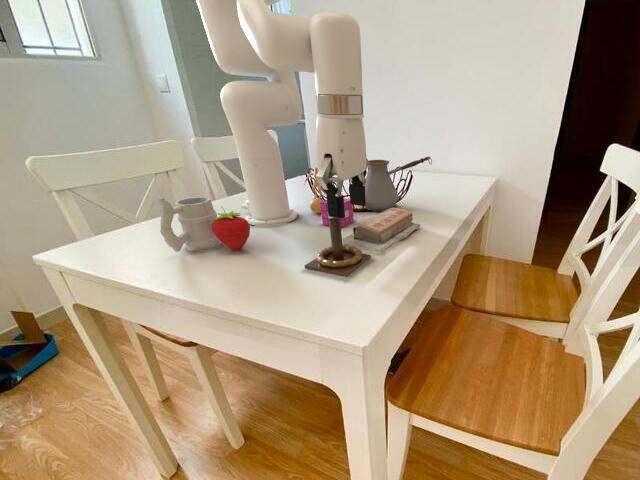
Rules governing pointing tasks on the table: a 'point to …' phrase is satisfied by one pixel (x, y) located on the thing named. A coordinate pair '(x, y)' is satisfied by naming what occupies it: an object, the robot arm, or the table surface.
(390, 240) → the packaged product
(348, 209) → the puzzle toy
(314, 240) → the table surface
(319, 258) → the ring
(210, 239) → the mug
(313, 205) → the figurine
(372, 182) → the coffee pot
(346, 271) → the brown peg stand
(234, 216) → the strawberry
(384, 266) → the table surface
